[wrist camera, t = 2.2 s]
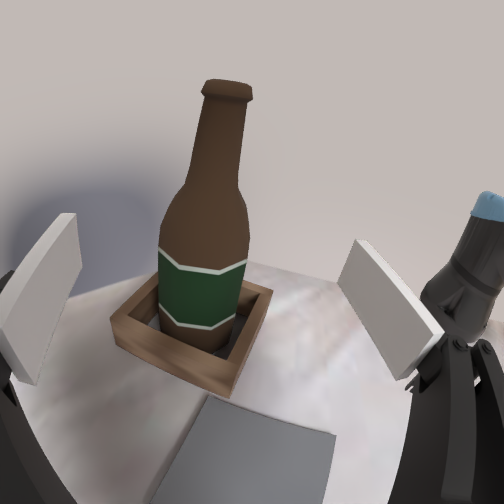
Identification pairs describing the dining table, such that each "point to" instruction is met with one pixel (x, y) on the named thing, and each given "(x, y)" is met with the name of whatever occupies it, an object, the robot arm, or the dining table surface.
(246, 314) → the caddy
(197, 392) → the dining table surface
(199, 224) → the beer bottle
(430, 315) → the robot arm
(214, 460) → the coaster
